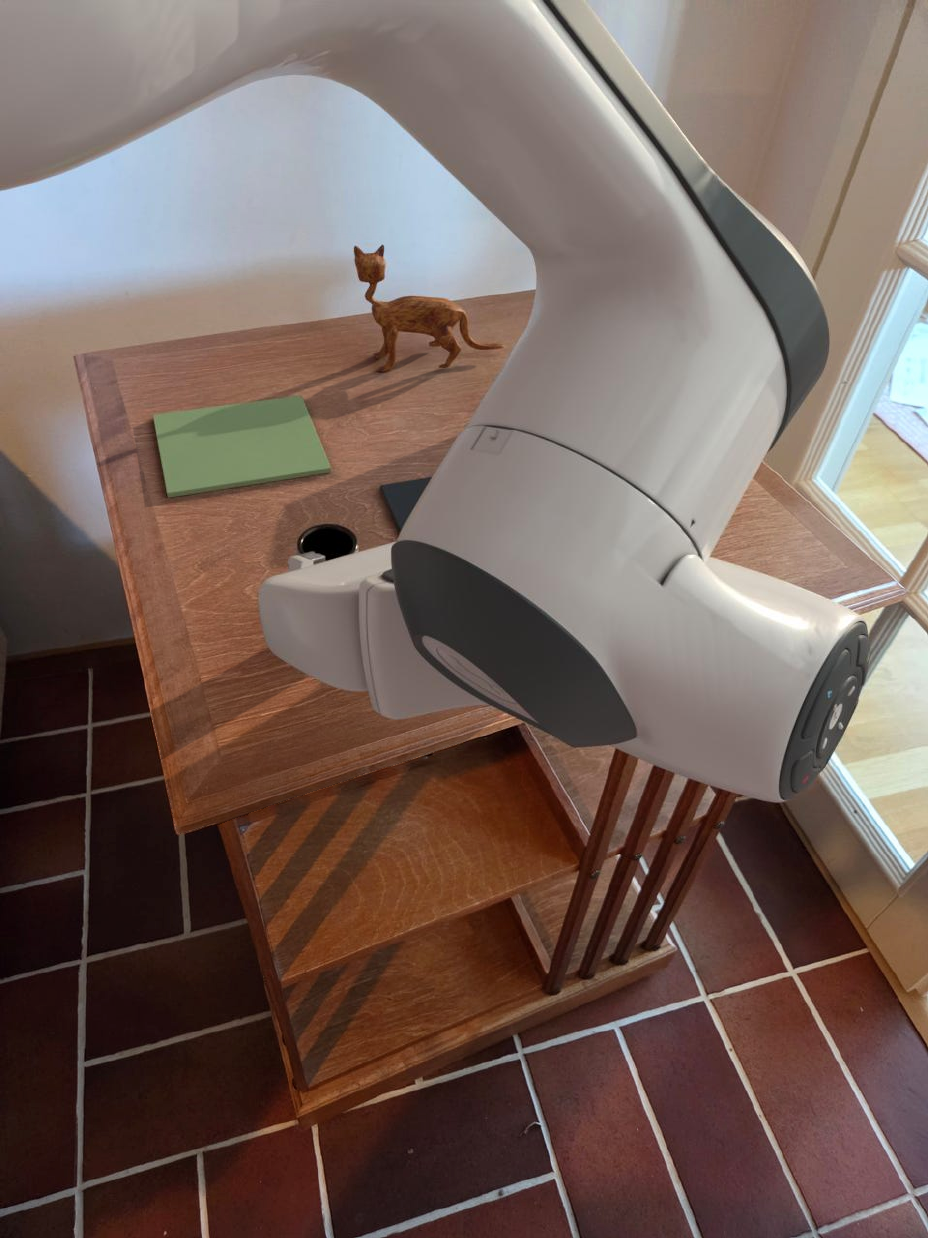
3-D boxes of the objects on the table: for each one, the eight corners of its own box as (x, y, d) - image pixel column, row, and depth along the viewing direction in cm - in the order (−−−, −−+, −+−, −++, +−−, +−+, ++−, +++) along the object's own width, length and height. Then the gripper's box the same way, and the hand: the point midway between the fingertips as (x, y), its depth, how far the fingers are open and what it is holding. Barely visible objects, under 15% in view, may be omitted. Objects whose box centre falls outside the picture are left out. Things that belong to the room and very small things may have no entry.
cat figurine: (495, 342, 105) (506, 231, 95) (509, 369, 101) (522, 255, 91) (354, 350, 101) (350, 236, 92) (362, 379, 97) (359, 262, 87)
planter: (368, 648, 68) (365, 555, 61) (314, 662, 67) (304, 568, 60) (352, 611, 71) (348, 517, 64) (300, 623, 70) (289, 529, 62)
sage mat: (168, 498, 80) (166, 493, 80) (153, 419, 89) (152, 414, 88) (331, 472, 84) (331, 467, 84) (302, 399, 93) (301, 395, 93)
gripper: (661, 498, 45) (493, 465, 55) (343, 600, 34) (202, 535, 44) (657, 605, 48) (496, 555, 58) (359, 735, 36) (222, 645, 46)
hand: (368, 547), depth 51 cm, fingers open, 8 cm apart
